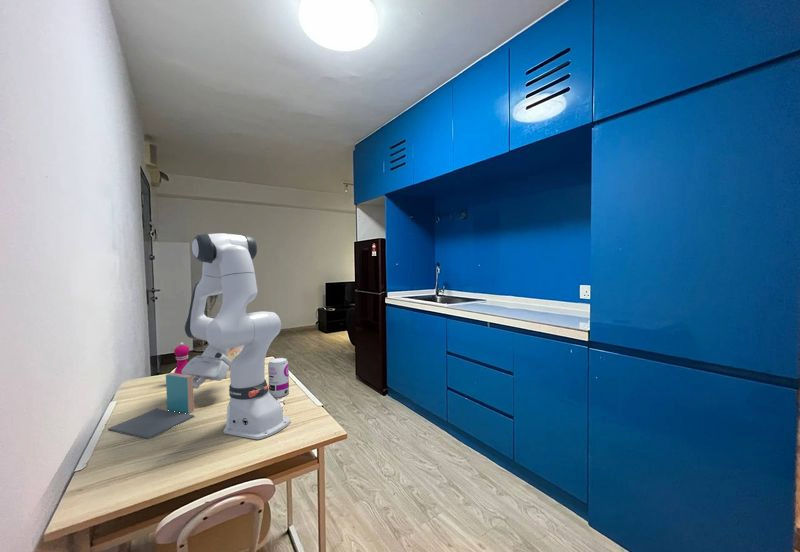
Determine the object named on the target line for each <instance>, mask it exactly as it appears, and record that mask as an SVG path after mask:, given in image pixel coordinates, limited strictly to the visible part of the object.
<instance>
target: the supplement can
mask: <svg viewBox="0 0 800 552" xmlns="http://www.w3.org/2000/svg"><path fill="white" fill-rule="evenodd" d="M267 367H268V369H267V371H268V372H267V373H268V385H270V386H269V387H270V388H269V387H268V389H269V390H268V391H269V393H270V394H271V395H272V396H273V397H274V398H275V397H277V398H282V397H281V396H283V397H285V396H287V395H288V394H289V392H290V378H289V376H290V374H289V371H290V370H289V361H288V359H287V358H286V357H276V358H273V359H270V360H269V363H267Z"/></svg>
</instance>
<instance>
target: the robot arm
mask: <svg viewBox="0 0 800 552" xmlns="http://www.w3.org/2000/svg"><path fill="white" fill-rule="evenodd" d="M191 251H192V254H193V257H194V258H195V259H196V260H197V261H199V262H201V263H202V268H201V270H202V271H201V279H200V280H199V281H198V282H196V283H195V286H194V287H193V290H192V294H191V299H190V304H189V311H188V316H187V318H186V321H185V324H184V332H185V335H186V336H187V337H188V338H190V339H193V340H194V339H195V340H202V341H205V342H207V343H208V346H207V347H206V348H205V349H204V351H203V353H202V354H201V355H199V354H198V355H196V356H194V357H192V358H191V359H190V360H189V361H187V362H188V363H187V364H186V366H185V367H184V368H183V369H182V374H184V375H192V376H193V389H195V390H197V389H199V387H200V386H201V385H202V384H204V383H206V381H207V380H210V381H218V382H221V381H222V380H224V379H225V378H224V377H225V375H226V373H227V372H228V370H229V366H230V377H229V378H230V379H229V381H230V384H229V387H228V392H229V394H228V395H229V397H230V399H229V403H228V405H227V408H226V422H225V423H226V424H225V427H224V428H223V434H225V435H231V436H235V437H242V438H248V439H252V440H253V439H254V440H261V439H265V438H268V437H269V436H273V435H274V434H276V433H278V432H280V431H283V430H284V429H285V428H286V427H288V426H289V425H290V423H291V418H289V416H286V415H284V411H283V407H282V404H281V402H280V400H279V399H278V400H276V398H275V397H273V396H272V395H271V394H270V393H269V388H270V387H269V386H270V385H269V384H268V382H267V380H266V378H265V364H266V361H265V360H266V356H267V353H268V350H269V348H270V346H271V344H272V342H273V340H274V339H275V338H276V337H277V336H278V335H279V334H280V332H281V330H282V329H281V328H282V321H281V318H280V317H279V315H278V314H277V313H276V312H274V311H262V310H260V311H255V312H254V311H253V312H247V306H248V304H249V303H251V302H253V301H254V300H255V299H256V297H257V295H258V292H259V291H258V285H257V284H258V283H257V278H256V273H255V266H254V263H253V260H254V259H255V258H256V256H257V254H258V244H257V242H256V240H255V238H254V237H253V236H250V235H247V234H234V233H224V232H223V233H221V232H220V233H207V232H206V233H200V234H197V235H196V236H194V238H193V240H192V245H191ZM220 294H222V302H221V303H222V304H221V306H220V309H219V312H217V315H216V316H215V317H214V318H212V317H208V316H206V314H205V310H206V303H207V299H208V298H209V297H210V296H217V295H220ZM243 345H244V347H243V349H242V351H241V353H240V354H239V355H238V356H236V357H235V358H234V359H233V360H232V361H231V360H230V359H229V358H228V357H227V355H228V352H229V350H230V349H231V348H234V347H238V346H243Z"/></svg>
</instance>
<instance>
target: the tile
mask: <svg viewBox="0 0 800 552" xmlns="http://www.w3.org/2000/svg"><path fill="white" fill-rule="evenodd" d="M165 386H166V387H165V388H166V410H169V411H175V412H180V413H186V414H191V413H194V412H195V396H194V395H195V394H194V388H193V376H192V375H184V374H177V373H174V372H171V373H170V372H169V373H168V374H166V375H165ZM193 411H194V412H193Z"/></svg>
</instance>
